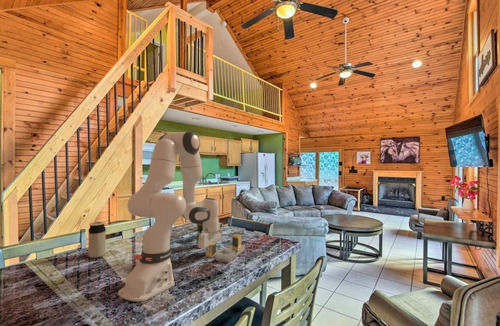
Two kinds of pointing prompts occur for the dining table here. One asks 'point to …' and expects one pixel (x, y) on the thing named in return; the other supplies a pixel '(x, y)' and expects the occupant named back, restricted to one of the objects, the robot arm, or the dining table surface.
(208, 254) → the yellow block grey top
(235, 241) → the beige base with post
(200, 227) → the coffee jar
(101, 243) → the travel mug
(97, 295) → the dining table surface
